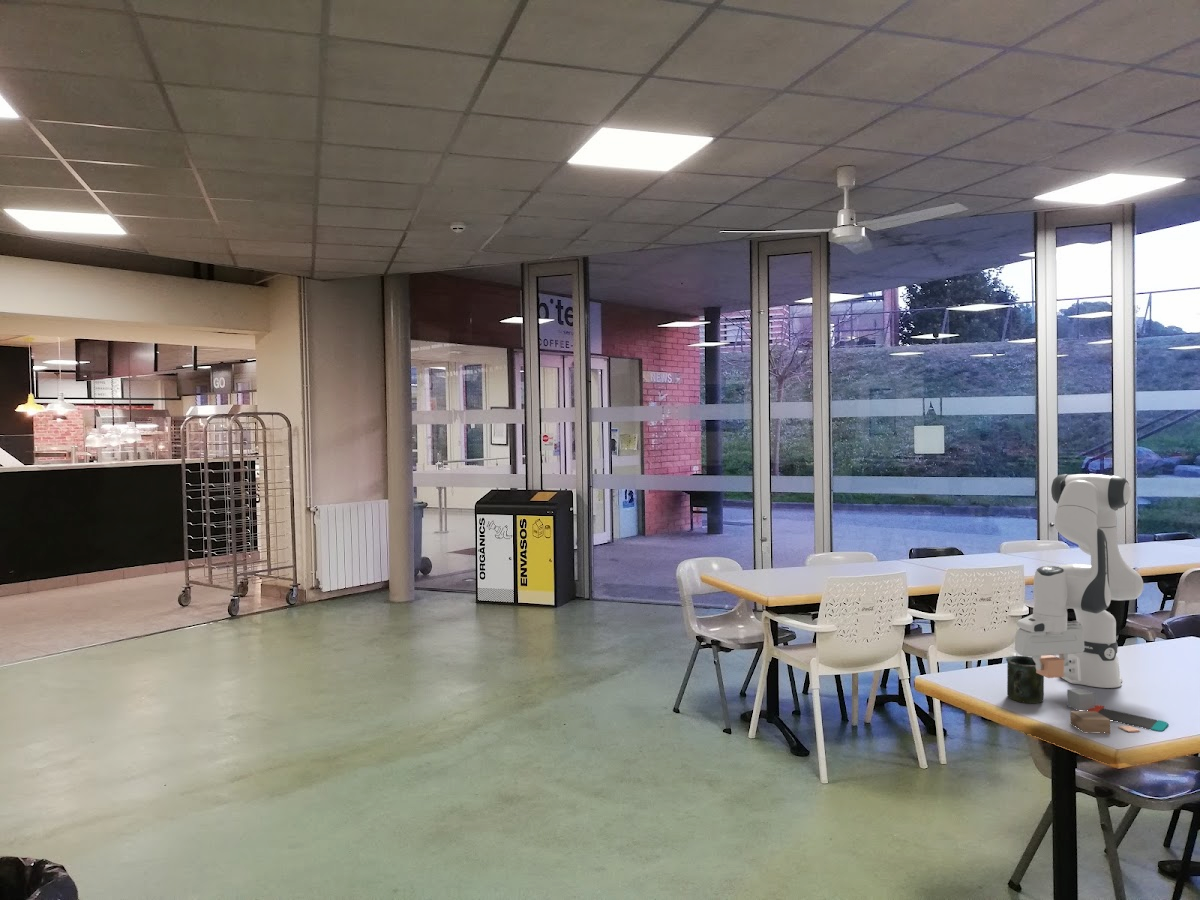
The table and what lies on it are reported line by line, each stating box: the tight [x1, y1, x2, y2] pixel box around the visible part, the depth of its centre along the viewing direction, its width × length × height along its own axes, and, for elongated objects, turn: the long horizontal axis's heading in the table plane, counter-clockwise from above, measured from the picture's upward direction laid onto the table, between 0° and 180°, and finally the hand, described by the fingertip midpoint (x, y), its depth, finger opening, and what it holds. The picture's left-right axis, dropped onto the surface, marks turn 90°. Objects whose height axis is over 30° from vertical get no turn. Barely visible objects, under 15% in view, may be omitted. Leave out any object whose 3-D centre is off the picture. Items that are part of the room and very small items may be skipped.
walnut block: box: [1069, 710, 1111, 734], centre depth 224 cm, size 7×7×4 cm
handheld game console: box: [1088, 704, 1169, 732], centre depth 232 cm, size 19×1×10 cm
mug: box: [1005, 655, 1045, 704], centre depth 249 cm, size 11×15×12 cm
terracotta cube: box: [1036, 655, 1064, 679], centre depth 235 cm, size 5×5×5 cm
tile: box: [1117, 725, 1141, 733], centre depth 223 cm, size 4×4×1 cm
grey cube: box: [1066, 688, 1096, 711], centre depth 242 cm, size 5×5×5 cm
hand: (1049, 669), depth 235 cm, fingers closed on terracotta cube, 5 cm apart
